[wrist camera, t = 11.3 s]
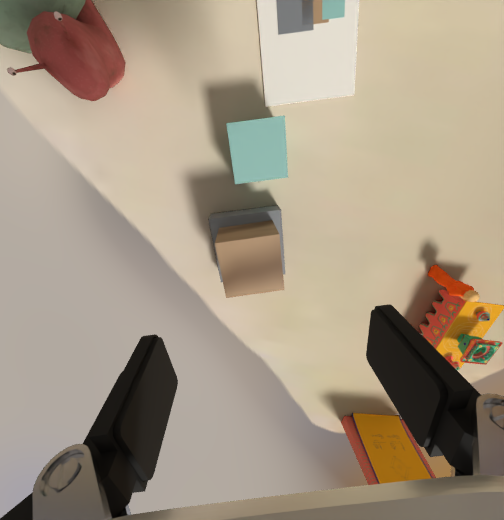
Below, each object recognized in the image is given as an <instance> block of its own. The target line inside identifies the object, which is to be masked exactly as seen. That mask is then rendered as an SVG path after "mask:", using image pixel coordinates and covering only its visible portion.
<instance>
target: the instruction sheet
mask: <svg viewBox="0 0 504 520" xmlns="http://www.w3.org/2000/svg"><path fill="white" fill-rule="evenodd" d="M257 10H258V23H259V35H260V47H261V60H262V72H263V84H264V97H265V107H270V106H278V105H285V104H293V103H300V102H308V101H315V100H323V99H331V98H338V97H346V96H353V95H354V93H355V74H356V54H357V35H358V16H359V0H257Z"/></svg>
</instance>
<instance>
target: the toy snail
mask: <svg viewBox="0 0 504 520" xmlns="http://www.w3.org/2000/svg"><path fill="white" fill-rule="evenodd" d="M0 44H1V45H3V46H5V47H7V48H11V49H15V50H19V51H23V52H26V53H32V54H33V56H34V57H35V59H36V60H37V61H38V62H39V64H36V65H32V66H29V67H25V68H21V69H17V70H14V69H13V68H11V67H10V68H8V69H7V71H8V73H9V74H11V75H13V76H14V75H16V73H18V72H25V71H31V70H37V69H43V68H44V69H45V70H46V71H47V72H49V73H50V74H51V75H52V76H53V77H54V78H55V79H56V80H57V81H59V82H60V83H61V84H62V85H63V86H64V87H66V88H67V89H68V90H69V91H70V92H71V93H73V94H74V95H76V96H78V97H79V98H81V99H86V100H90V101H96V100H98V99H100V98H102V97H104V96H106V94H107V92H108V90H109V88H112V87H114V86H115V85H116V84H118V83H119V82H120V80H121V79H122V78H123V76H124V71H125V61H124V58H123V56H122V54H121V52H120V49H119V47H118V45H117V43H116V42H115V40H114V38H113V36H112V34H111V32H110V31H109V29H108V27H107V26H106V24H105V22H104V21H103V19H102V17H101V16H100V14H99V13H98V11H97V9H96V8H95V6H94V4H93V3H92V1H91V0H0Z"/></svg>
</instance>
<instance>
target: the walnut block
mask: <svg viewBox="0 0 504 520" xmlns="http://www.w3.org/2000/svg"><path fill="white" fill-rule="evenodd" d="M215 247H216V252H217V256H218V261H219V266H220V270H221V275H222V280H223V284H224V289H225V294H226V298H229V297H236V296H243V295H250V294H257V293H264V292H272V291H279V290H284V280H283V269H282V258H281V246H280V235H279V232H278V230H277V228H276V226H275V224H274V222H273V220H270V221H263V222H256V223H250V224H243V225H236V226H229V227H222V228H219V230H218V233H217V237H216V241H215Z"/></svg>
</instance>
